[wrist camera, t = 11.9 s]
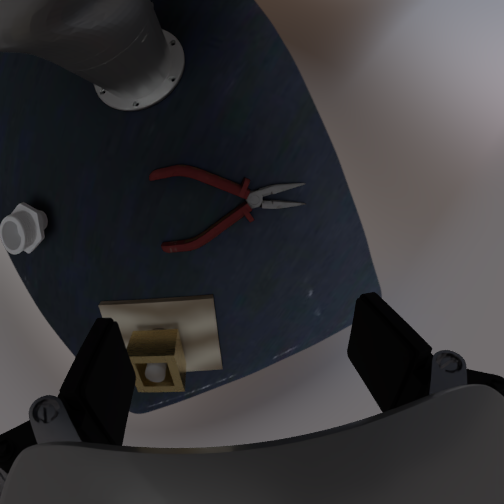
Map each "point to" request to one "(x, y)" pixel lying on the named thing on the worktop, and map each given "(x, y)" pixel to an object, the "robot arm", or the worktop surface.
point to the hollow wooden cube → (158, 359)
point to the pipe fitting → (23, 229)
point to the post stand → (172, 327)
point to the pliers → (242, 210)
